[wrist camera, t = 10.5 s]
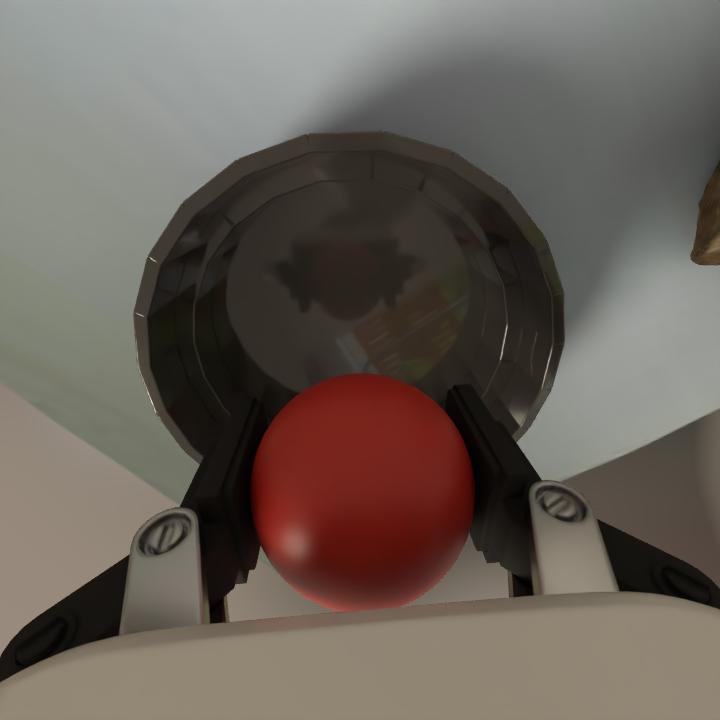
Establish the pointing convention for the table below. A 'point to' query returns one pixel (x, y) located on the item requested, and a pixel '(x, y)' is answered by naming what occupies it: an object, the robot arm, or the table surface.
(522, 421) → the bowl
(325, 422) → the red ball
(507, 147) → the table surface
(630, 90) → the table surface
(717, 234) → the fossilized seashell
